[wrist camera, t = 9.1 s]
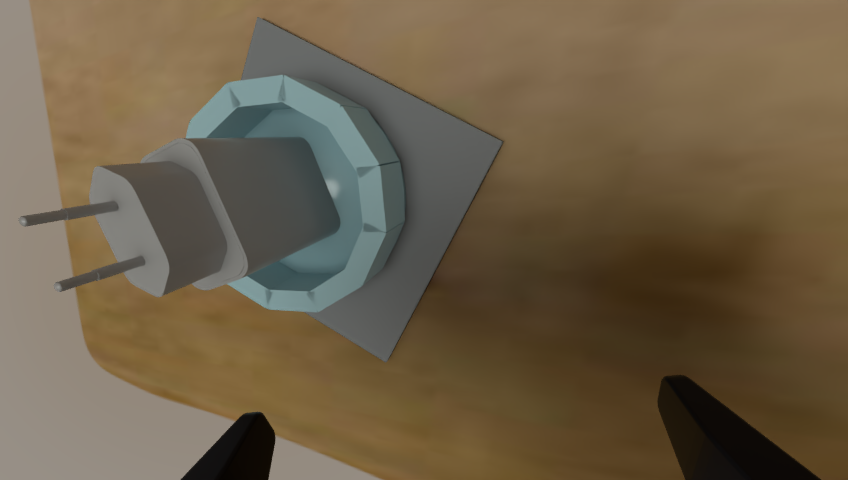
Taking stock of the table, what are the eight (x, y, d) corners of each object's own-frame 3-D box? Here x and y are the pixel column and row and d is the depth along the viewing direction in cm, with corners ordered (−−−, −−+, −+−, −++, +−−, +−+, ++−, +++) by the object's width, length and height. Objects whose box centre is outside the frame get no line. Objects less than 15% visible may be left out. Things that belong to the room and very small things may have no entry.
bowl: (443, 146, 19) (424, 149, 16) (359, 322, 23) (333, 350, 20) (257, 49, 21) (208, 35, 18) (208, 230, 25) (162, 243, 22)
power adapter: (304, 132, 20) (18, 130, 9) (345, 230, 21) (125, 337, 10) (259, 153, 21) (-47, 175, 10) (298, 246, 22) (54, 359, 11)
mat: (503, 141, 19) (502, 141, 18) (388, 358, 24) (386, 362, 23) (262, 19, 21) (257, 16, 20) (202, 244, 25) (197, 246, 25)
